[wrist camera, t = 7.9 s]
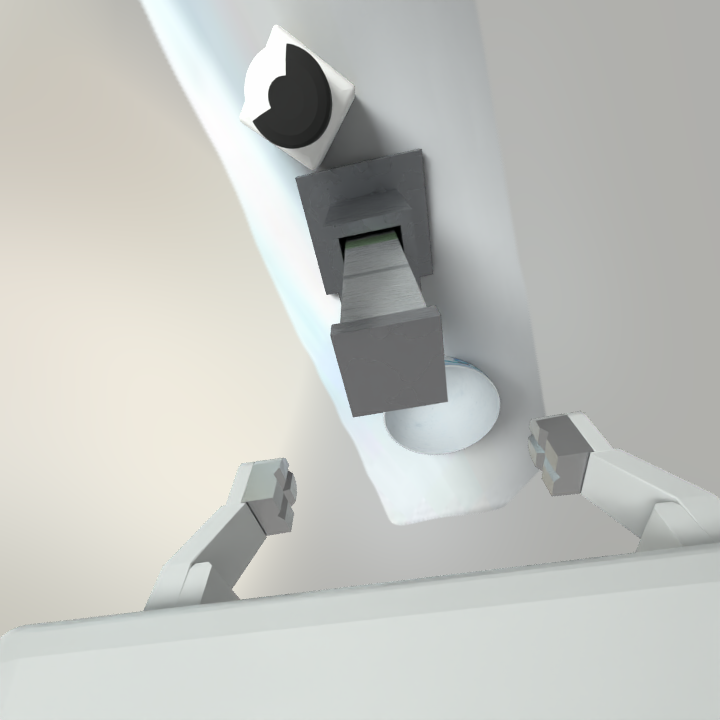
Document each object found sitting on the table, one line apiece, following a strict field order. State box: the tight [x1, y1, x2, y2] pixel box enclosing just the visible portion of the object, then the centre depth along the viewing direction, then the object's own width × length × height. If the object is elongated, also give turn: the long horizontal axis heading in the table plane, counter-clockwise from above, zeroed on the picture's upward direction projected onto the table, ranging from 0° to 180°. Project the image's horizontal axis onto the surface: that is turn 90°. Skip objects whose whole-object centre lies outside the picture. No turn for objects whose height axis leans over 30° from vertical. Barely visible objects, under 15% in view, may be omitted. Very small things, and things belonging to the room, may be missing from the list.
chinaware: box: [383, 357, 500, 455], centre depth 49 cm, size 15×15×8 cm
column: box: [330, 227, 448, 417], centre depth 25 cm, size 5×5×22 cm
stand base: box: [295, 149, 433, 304], centre depth 35 cm, size 13×13×14 cm
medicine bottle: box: [240, 25, 355, 170], centre depth 30 cm, size 7×7×12 cm
